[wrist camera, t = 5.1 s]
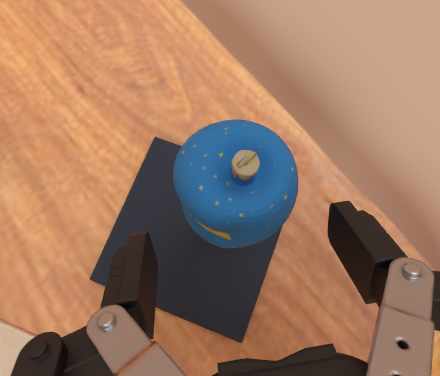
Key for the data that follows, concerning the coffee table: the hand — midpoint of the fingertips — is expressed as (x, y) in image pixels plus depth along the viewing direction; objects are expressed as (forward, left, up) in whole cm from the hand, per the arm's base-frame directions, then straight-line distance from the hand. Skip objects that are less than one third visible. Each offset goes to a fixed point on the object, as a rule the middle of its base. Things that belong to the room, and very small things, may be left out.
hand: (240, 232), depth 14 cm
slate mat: (+3, 0, -11) cm, 11 cm away
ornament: (+1, -2, -10) cm, 11 cm away
